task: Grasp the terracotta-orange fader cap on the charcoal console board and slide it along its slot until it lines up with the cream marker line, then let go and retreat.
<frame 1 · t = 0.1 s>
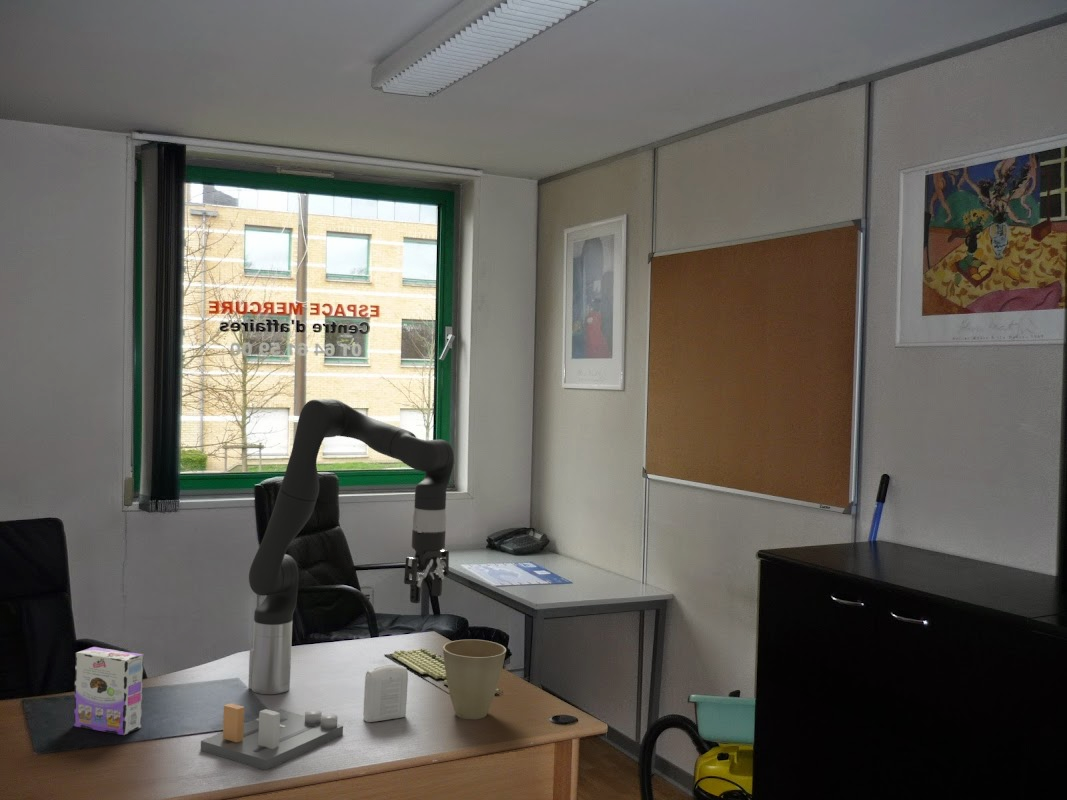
hand: (425, 599, 232), 29 cm above the table, fingers open, 8 cm apart
photo printer: (384, 719, 237), on the table
console: (273, 742, 219), on the table
candy box: (107, 728, 223), on the table
keyboard: (445, 677, 273), on the table
fader cap: (233, 722, 214), point 6 cm above the table, slide at 0.0 cm
plant pot: (471, 715, 242), on the table
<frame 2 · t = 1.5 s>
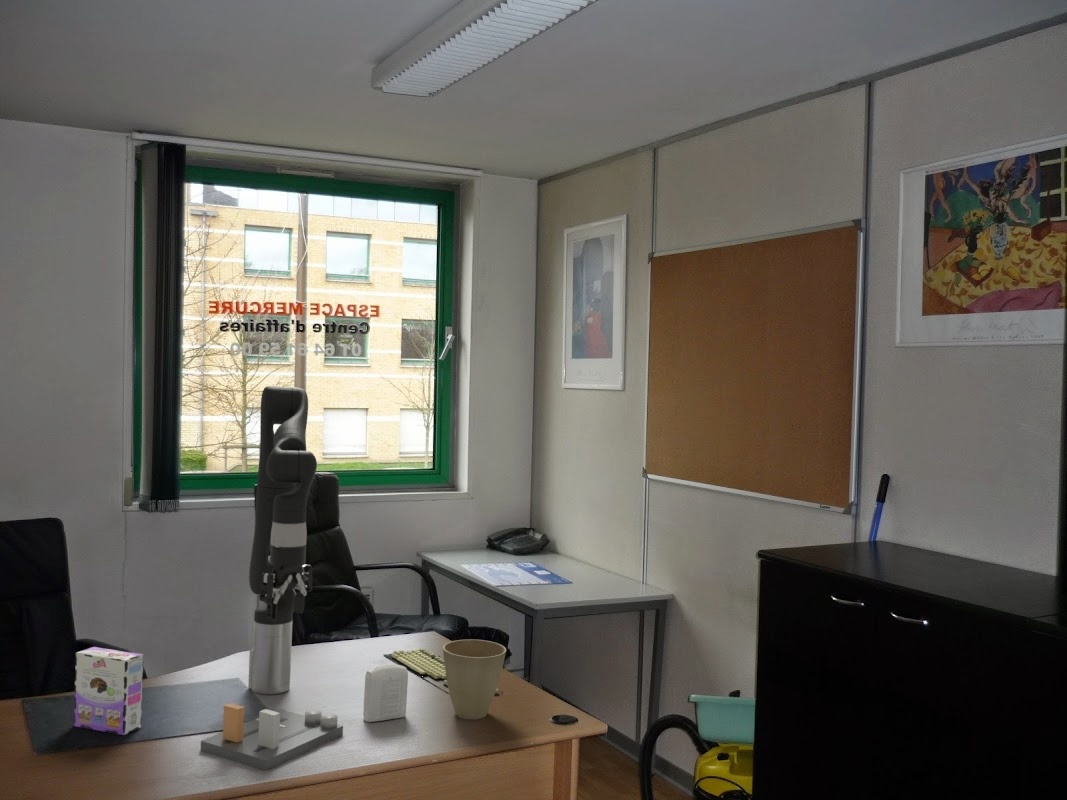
hand: (285, 616, 222), 26 cm above the table, fingers open, 8 cm apart
nothing on the table moved.
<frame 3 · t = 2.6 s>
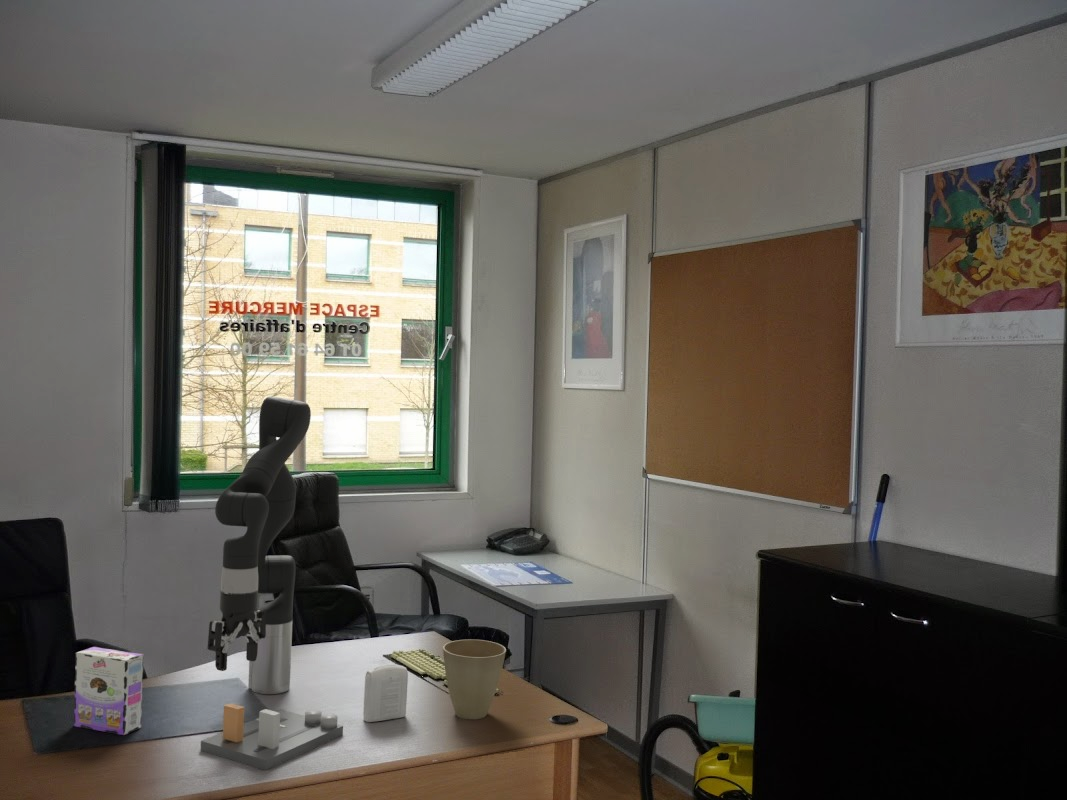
hand: (236, 665, 213), 18 cm above the table, fingers open, 8 cm apart
nothing on the table moved.
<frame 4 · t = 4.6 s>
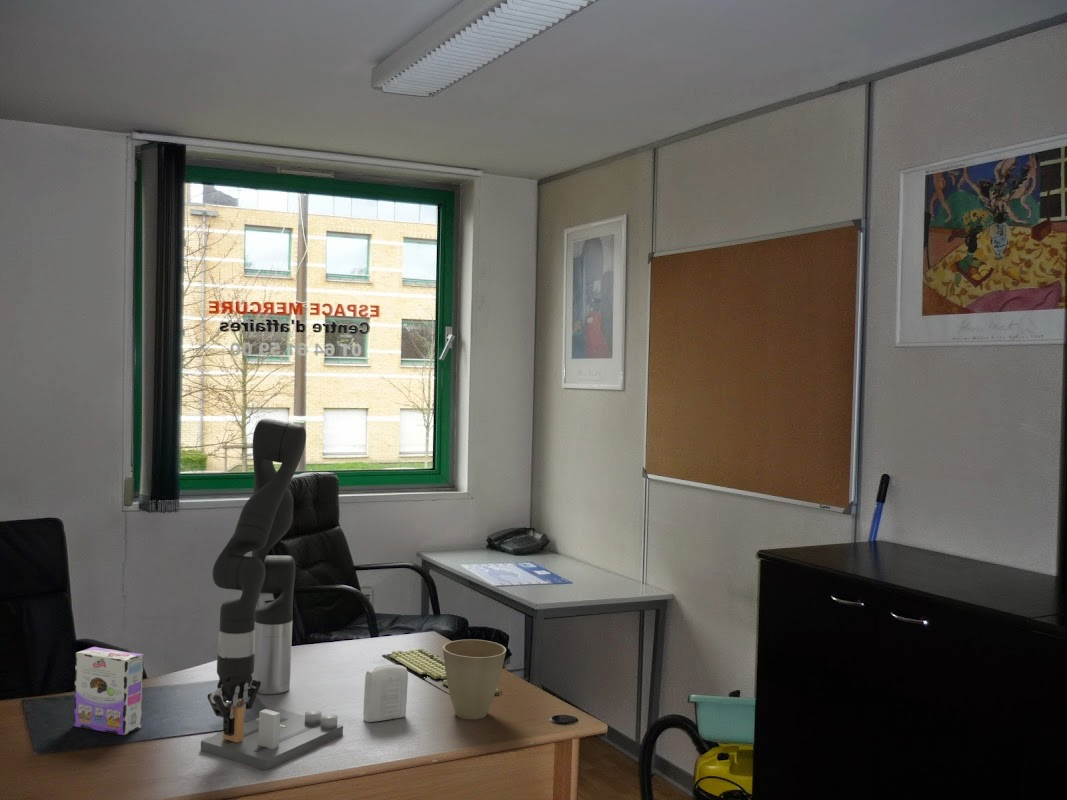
hand: (233, 732, 214), 4 cm above the table, fingers closed on fader cap, 2 cm apart
fader cap: (233, 722, 214), point 6 cm above the table, slide at 0.0 cm, touching gripper
everything else where it was.
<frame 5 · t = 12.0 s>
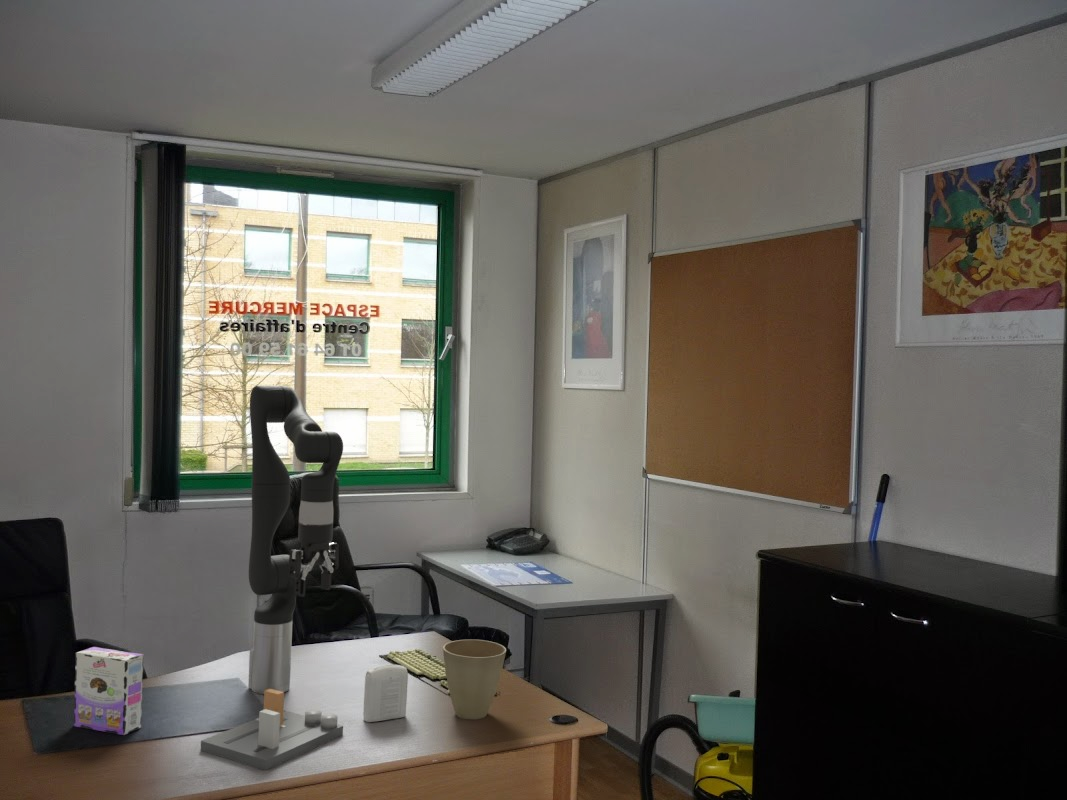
hand: (313, 592, 229), 30 cm above the table, fingers open, 8 cm apart
fader cap: (273, 707, 224), point 6 cm above the table, slide at 12.0 cm
at the end: fader cap slide at 12.0 cm; the gripper is holding nothing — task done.
